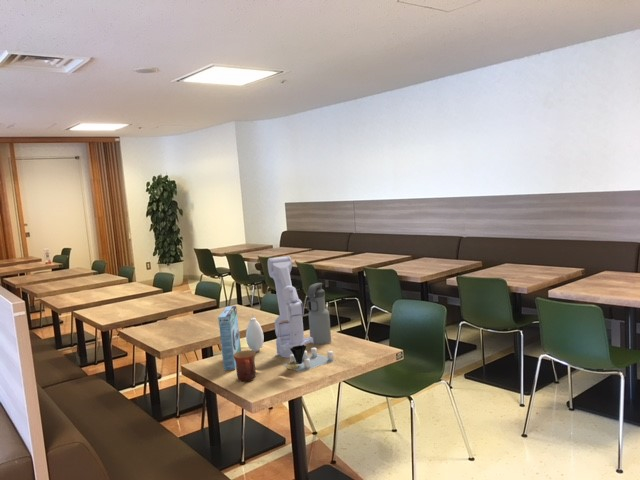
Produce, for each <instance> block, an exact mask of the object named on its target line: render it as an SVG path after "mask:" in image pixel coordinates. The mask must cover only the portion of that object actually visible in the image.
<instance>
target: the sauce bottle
mask: <svg viewBox="0 0 640 480" xmlns="http://www.w3.org/2000/svg"><path fill="white" fill-rule="evenodd" d="M251 316H252V318H249V319H250V320H249V322H248V324H247V327H246V332H245V340H246V341H245V342H246V344H247V346H248V348H249V350H251V351H255V352H258V351H260V350H261V349H262V347H263V345H264V337H265V336H264V332H263V328H262V326H261V324H260V323H259V321H257V318H256V317H254V313H253V312H252V315H251Z"/></svg>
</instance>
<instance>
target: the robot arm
mask: <svg viewBox="0 0 640 480" xmlns="http://www.w3.org/2000/svg"><path fill="white" fill-rule="evenodd" d="M292 268H293V262H292V258H291V256H289V255H287V256H279V257H268V259H267V271H268V276H269V277H270V278H272V279H273V281H274V285H275V291H276V292H275V293H276V298H277V305H278V310H279V311H278V312H279V316H278V317H276V318H275V320H274V331H275V332H274V333H275V335H276V342H275V343H276V344H275V345H276V354H275V357H277V356H280V357H282V358H287V359H290V355H291V354H293V355H294V357H295V360H296V362H298V364H302V359H303V355H304V352H305V351H307V350H306V349H307V346H306V345H308V344H313V338H312V337H310V336H308V337H305V335H304V332H305V331H304V323H303V321H304V319H303V315H304V314H305V309H304V304H303V302H302V300H301V299H300V298H299V295H298V292H297V288H296V287H295V286H293V285H292V280H291V279H292V278H291V271H292Z"/></svg>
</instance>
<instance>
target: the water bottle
mask: <svg viewBox="0 0 640 480" xmlns="http://www.w3.org/2000/svg"><path fill="white" fill-rule="evenodd" d="M322 286H323V282H316V283H313V284H311V285H309V287H308V289H307V297H308V299H307V301H306V310H307V312H308V314H307V315H308V324H309V325H308V326H309V327H308V329H309V337H312V338H313V343H312V344H313V345H324V344H325V345H326V344H327V345H328V344H330V343H331V342H332V335H331V319H330V311H329V310H328V309H327V308H326V300H325V297H326V296H325V295H326V293H325V290H324V289H323V287H322ZM309 303H310V304H309ZM309 305H310V306H309ZM310 308H311V309H310Z"/></svg>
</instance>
